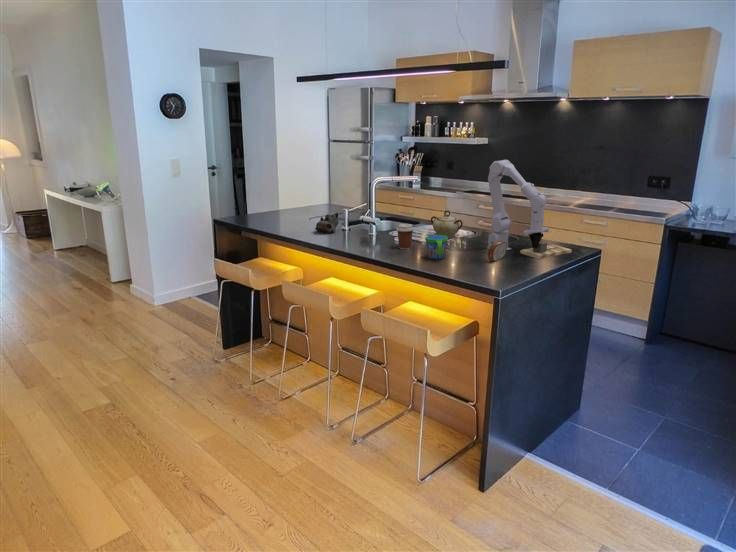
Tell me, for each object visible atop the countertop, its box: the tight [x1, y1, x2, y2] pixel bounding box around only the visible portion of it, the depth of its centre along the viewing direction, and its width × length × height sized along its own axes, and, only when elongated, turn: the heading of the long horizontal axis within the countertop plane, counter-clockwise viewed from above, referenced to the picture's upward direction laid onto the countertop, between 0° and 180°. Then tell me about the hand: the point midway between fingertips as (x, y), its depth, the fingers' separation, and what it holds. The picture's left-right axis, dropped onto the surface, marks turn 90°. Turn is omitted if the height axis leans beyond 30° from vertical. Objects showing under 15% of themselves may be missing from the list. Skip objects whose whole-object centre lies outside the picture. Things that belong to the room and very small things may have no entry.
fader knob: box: [533, 240, 548, 252], centre depth 246 cm, size 4×5×4 cm
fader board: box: [519, 244, 573, 260], centre depth 249 cm, size 22×12×2 cm, turn 117°
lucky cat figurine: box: [314, 212, 340, 234], centre depth 302 cm, size 15×12×14 cm
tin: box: [487, 241, 507, 262], centre depth 239 cm, size 15×3×8 cm, turn 141°
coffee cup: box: [395, 223, 415, 250], centre depth 262 cm, size 9×9×12 cm
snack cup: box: [425, 234, 449, 260], centre depth 243 cm, size 16×10×10 cm
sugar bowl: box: [430, 209, 464, 239], centre depth 284 cm, size 20×15×15 cm
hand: (534, 248), depth 245 cm, fingers closed
